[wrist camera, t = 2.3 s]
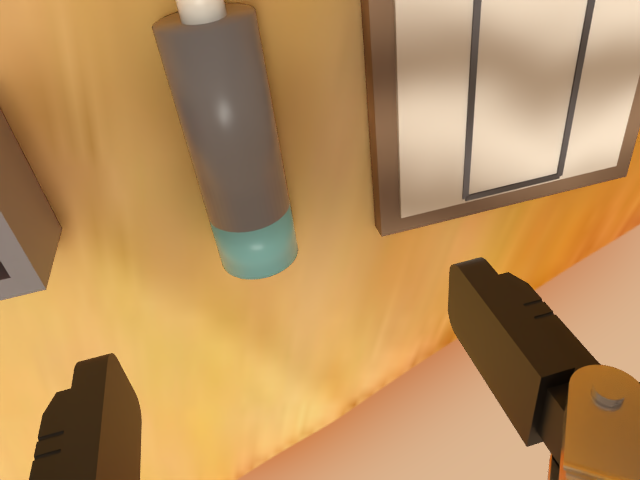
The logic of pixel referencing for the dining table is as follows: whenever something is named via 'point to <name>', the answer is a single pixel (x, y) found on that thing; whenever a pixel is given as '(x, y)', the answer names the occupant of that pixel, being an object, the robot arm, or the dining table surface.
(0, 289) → the button base
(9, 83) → the dining table surface
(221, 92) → the marker
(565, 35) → the framed square panel
